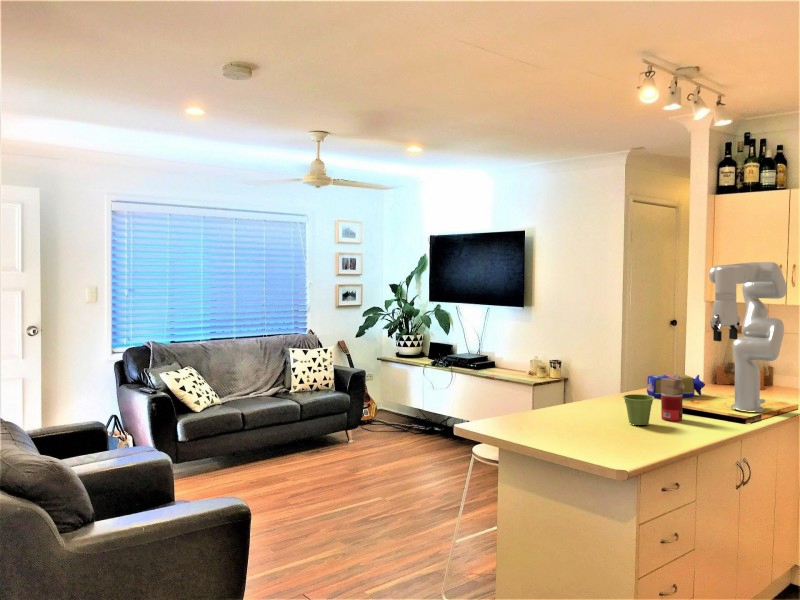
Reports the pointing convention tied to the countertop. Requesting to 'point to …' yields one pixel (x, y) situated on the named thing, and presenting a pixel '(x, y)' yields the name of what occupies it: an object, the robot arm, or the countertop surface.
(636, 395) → the plant pot
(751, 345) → the robot arm
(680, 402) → the canned food
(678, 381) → the walnut block
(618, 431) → the countertop surface
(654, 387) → the bread
